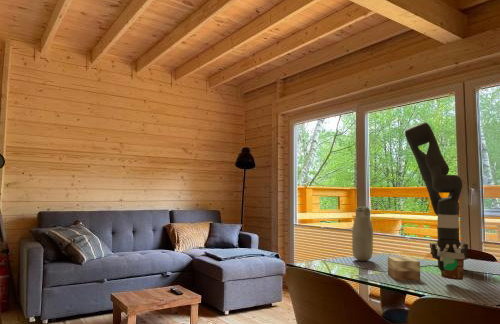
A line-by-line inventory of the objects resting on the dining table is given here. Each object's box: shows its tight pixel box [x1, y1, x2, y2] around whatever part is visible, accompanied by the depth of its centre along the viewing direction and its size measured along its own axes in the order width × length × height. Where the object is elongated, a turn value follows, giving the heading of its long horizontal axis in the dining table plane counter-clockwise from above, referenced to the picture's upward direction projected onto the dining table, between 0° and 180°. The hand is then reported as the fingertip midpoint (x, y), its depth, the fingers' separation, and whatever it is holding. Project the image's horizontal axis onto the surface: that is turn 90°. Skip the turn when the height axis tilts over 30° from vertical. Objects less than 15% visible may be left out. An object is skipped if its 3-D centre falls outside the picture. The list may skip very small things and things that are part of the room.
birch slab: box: [387, 256, 421, 273], centre depth 166 cm, size 10×10×4 cm
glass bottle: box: [351, 205, 374, 262], centre depth 207 cm, size 10×10×28 cm
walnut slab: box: [387, 266, 421, 282], centre depth 166 cm, size 10×10×4 cm
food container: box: [437, 249, 466, 281], centre depth 154 cm, size 12×6×10 cm, turn 5°
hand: (449, 270), depth 154 cm, fingers closed on food container, 5 cm apart
